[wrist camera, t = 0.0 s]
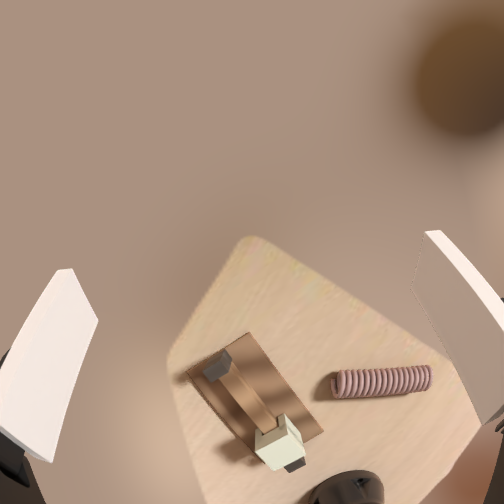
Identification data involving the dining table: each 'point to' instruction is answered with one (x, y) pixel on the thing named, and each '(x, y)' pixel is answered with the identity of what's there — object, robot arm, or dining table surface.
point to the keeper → (279, 444)
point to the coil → (382, 381)
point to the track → (263, 388)
